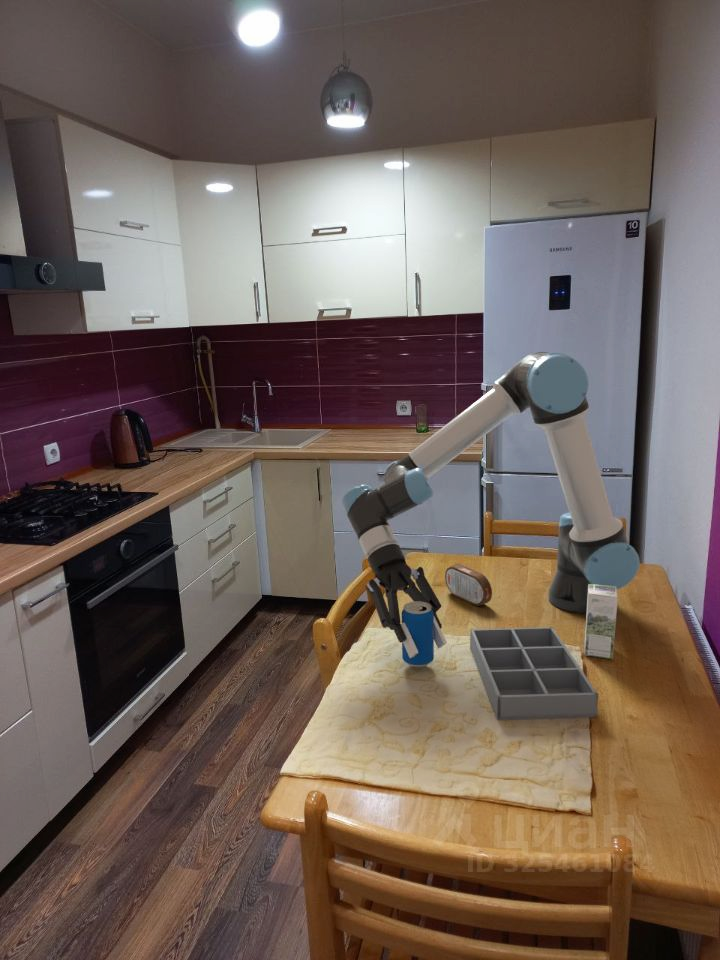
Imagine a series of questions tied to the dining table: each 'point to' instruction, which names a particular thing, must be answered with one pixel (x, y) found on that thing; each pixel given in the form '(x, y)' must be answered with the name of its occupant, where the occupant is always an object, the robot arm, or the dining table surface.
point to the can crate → (531, 674)
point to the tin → (468, 584)
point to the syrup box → (600, 621)
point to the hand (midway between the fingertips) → (428, 650)
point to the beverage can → (419, 632)
